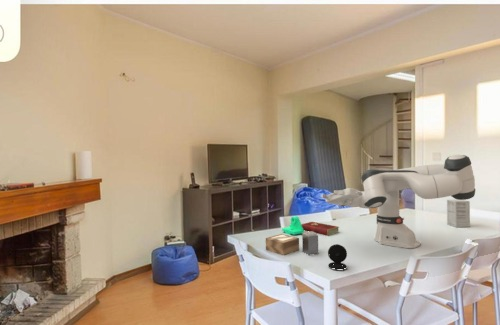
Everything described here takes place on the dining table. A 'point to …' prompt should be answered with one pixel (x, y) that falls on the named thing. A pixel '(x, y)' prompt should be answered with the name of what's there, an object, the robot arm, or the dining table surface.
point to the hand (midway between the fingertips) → (328, 194)
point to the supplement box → (458, 213)
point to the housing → (310, 242)
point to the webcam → (337, 256)
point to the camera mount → (294, 226)
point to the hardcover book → (320, 228)
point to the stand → (282, 244)
